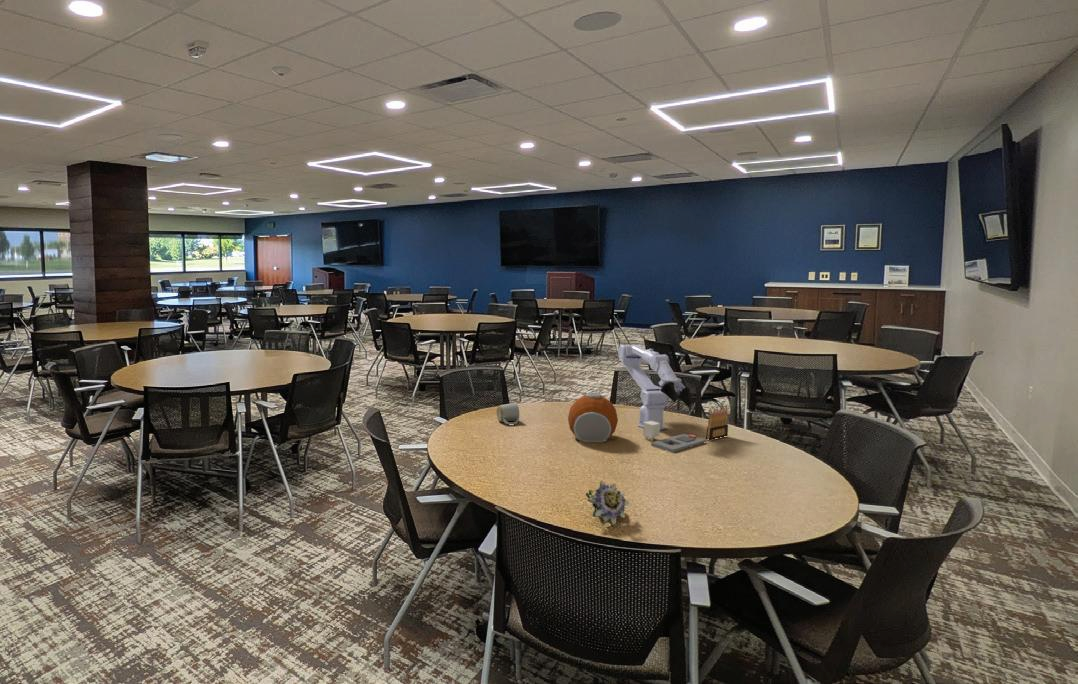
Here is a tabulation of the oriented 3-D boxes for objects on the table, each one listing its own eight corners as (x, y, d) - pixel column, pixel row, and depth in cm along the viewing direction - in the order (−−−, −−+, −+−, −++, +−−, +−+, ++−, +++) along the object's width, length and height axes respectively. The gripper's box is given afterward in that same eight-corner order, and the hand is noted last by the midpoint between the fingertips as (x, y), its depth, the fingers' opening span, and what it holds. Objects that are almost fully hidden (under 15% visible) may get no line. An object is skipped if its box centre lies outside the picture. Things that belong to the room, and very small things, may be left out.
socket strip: (651, 445, 214) (651, 440, 214) (683, 436, 227) (684, 431, 227) (673, 452, 206) (673, 447, 206) (705, 442, 219) (705, 438, 219)
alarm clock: (616, 432, 230) (618, 390, 228) (617, 446, 213) (619, 400, 210) (568, 430, 232) (569, 387, 230) (566, 443, 215) (567, 397, 212)
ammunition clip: (709, 441, 222) (711, 410, 220) (705, 439, 223) (707, 409, 222) (727, 437, 228) (729, 407, 226) (723, 435, 229) (725, 406, 228)
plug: (642, 439, 222) (643, 422, 221) (650, 437, 225) (651, 420, 224) (651, 441, 219) (652, 425, 218) (659, 439, 221) (660, 423, 221)
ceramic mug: (495, 419, 244) (495, 402, 243) (513, 418, 247) (513, 400, 246) (504, 427, 234) (504, 408, 233) (522, 425, 238) (523, 407, 237)
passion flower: (611, 544, 149) (599, 517, 142) (583, 521, 157) (570, 495, 150) (640, 513, 153) (629, 486, 146) (612, 493, 161) (600, 466, 154)
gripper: (661, 365, 221) (676, 391, 211) (687, 375, 229) (702, 399, 219) (650, 378, 224) (664, 403, 214) (675, 386, 232) (690, 411, 222)
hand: (683, 402), depth 217 cm, fingers open, 7 cm apart
